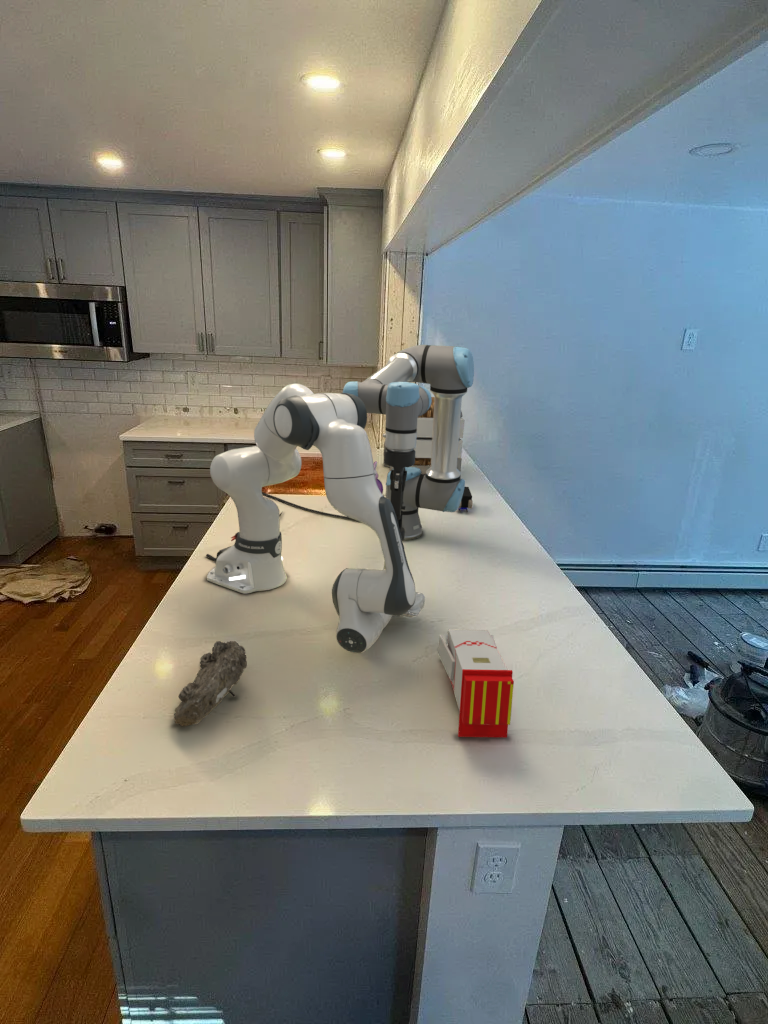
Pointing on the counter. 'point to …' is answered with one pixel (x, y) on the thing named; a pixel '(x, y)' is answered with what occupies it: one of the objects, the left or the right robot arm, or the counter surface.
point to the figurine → (378, 479)
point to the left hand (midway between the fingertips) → (393, 584)
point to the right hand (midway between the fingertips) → (395, 537)
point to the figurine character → (466, 500)
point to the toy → (478, 682)
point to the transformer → (430, 439)
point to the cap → (402, 533)
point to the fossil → (211, 682)
